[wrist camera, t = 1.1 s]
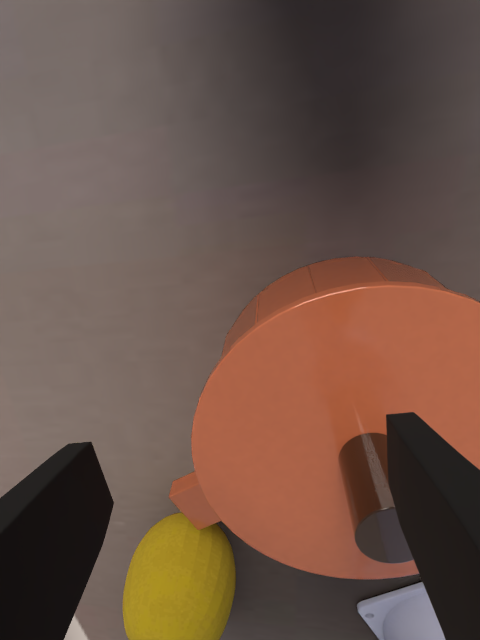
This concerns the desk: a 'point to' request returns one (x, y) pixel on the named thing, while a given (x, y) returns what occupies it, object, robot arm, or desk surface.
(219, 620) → the lemon
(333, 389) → the pot lid
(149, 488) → the desk surface
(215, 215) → the desk surface
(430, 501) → the robot arm
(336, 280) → the pot
